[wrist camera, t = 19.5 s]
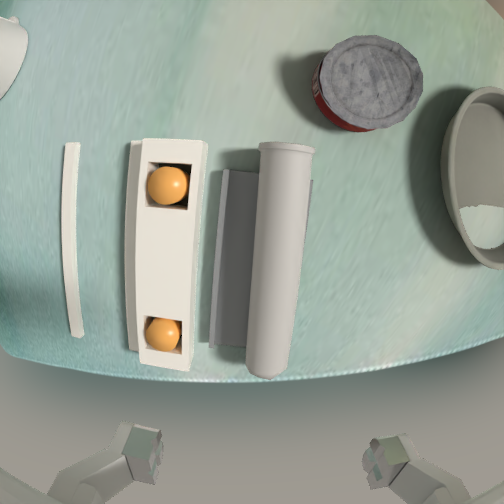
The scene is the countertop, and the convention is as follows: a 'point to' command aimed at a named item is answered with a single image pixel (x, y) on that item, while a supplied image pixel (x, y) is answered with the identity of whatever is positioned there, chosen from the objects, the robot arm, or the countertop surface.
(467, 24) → the countertop surface
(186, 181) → the front plunger
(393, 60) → the canned food
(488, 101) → the cake pan
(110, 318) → the countertop surface
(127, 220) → the housing
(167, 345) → the rear plunger
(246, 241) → the tray
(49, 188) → the countertop surface
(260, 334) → the tube
